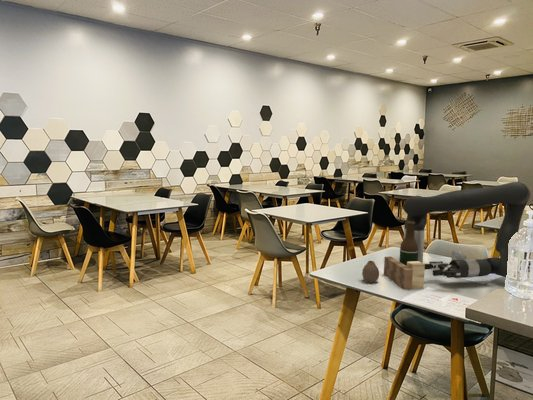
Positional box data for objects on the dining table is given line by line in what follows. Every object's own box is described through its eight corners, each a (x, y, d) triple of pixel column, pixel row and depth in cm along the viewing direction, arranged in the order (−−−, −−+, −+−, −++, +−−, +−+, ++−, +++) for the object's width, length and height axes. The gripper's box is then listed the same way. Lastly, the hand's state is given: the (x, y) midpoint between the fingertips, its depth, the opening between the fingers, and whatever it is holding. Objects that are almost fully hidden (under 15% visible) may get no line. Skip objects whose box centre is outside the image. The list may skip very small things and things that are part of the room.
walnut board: (383, 273, 183) (384, 256, 182) (390, 273, 183) (390, 256, 182) (404, 289, 163) (405, 270, 162) (411, 289, 163) (412, 269, 162)
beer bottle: (417, 272, 185) (420, 220, 182) (416, 277, 178) (419, 223, 175) (399, 270, 188) (402, 219, 185) (397, 275, 181) (400, 222, 178)
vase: (375, 285, 168) (376, 264, 167) (359, 282, 171) (360, 262, 170) (380, 280, 174) (381, 260, 172) (365, 277, 177) (365, 258, 176)
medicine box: (465, 274, 183) (466, 255, 182) (454, 273, 184) (456, 254, 183) (460, 268, 191) (462, 251, 190) (450, 268, 192) (451, 250, 191)
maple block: (405, 285, 168) (407, 261, 167) (417, 284, 169) (418, 261, 168) (411, 289, 164) (413, 265, 162) (423, 288, 164) (424, 264, 163)
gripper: (454, 255, 175) (419, 256, 173) (475, 264, 161) (437, 266, 159) (453, 271, 176) (418, 273, 174) (474, 282, 162) (436, 284, 160)
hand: (427, 269), depth 166 cm, fingers open, 8 cm apart
